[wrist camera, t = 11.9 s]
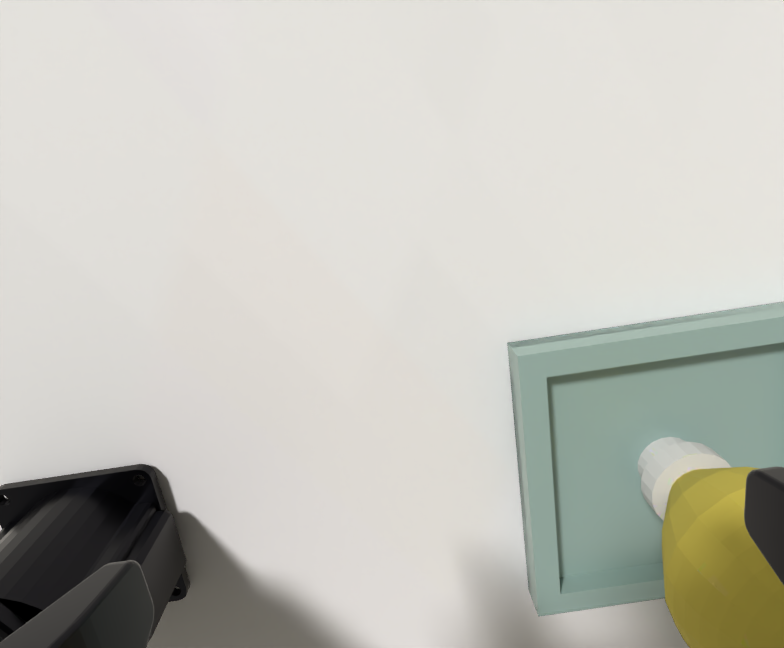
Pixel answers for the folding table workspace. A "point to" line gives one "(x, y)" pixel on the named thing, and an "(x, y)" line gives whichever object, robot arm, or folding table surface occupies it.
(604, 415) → the tray
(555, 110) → the folding table surface
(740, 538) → the light bulb
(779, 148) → the folding table surface
